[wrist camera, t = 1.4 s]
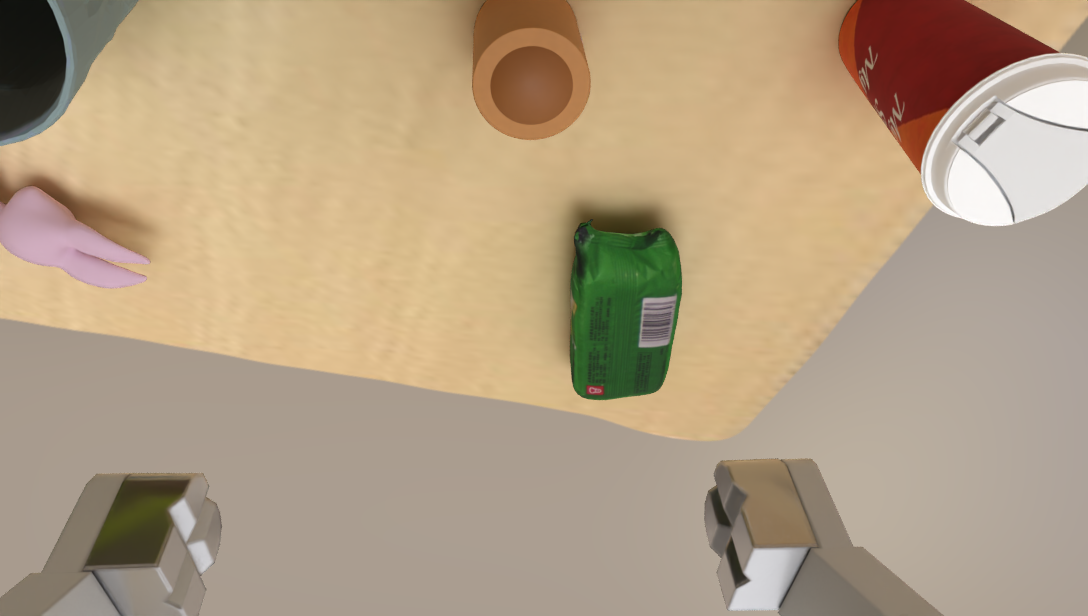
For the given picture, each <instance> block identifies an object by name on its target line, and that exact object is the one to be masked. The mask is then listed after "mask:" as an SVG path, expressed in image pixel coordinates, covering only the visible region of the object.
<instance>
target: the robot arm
mask: <svg viewBox="0 0 1088 616" xmlns="http://www.w3.org/2000/svg"><path fill="white" fill-rule="evenodd" d="M714 477H715V481H716V484H717V485H716V486H715V487H713V488H712V489H710V490H709V491H708V494H707V497H706V501H705V518H704V519H705V527H706V533H707V537H708V541H709V545H710V547H711V548H712V549H713V550H714V551H715V552H716V553H717V554H718V555H719V556H720V557H721V558H722V559H721V561H720V564H719V567H718V570H717V575H718V579H719V582H720V586H721V590H722V593H723V597H724V601H725V604H726V608H727V610H779V612H778V613H779V614H780V615H781V616H944V615H942V614H941V613H940V612H939V611H938V610H937V609H935V608H934V607H933V606H932V605H931V604H929V603H928V602H927V601H926V600H924V599H923V598H922V597H921V596H920V595H919V594H918V593H916V592H915V591H914V590H913V589H912V588H910V587H909V586H908V585H907V584H906V583H905V582H903V581H902V580H901V579H900V578H899V577H897V576H896V575H895V574H894V573H893V572H892V571H890V570H889V569H888V568H887V567H886V566H884V565H883V564H882V563H881V562H880V561H879V560H877V559H876V558H875V557H874V556H873V555H871V554H870V553H869V552H868V551H867V550H866V549H864V548H863V547H853V544H852V542H851V540H850V538H849V536H848V533H847V531H846V529H845V527H844V524H843V522H842V520H841V518H840V515H839V513H838V511H837V509H836V506H835V504H834V502H833V500H832V498H831V495H830V493H829V491H828V488H827V486H826V484H825V482H824V479H823V477H822V475H821V473H820V470H819V469H818V466H817V464H816V463H815V462H814V461H813V460H812V459H781V460H779V459H754V460H727V461H720V462H719V463H718V464H717V466H716V469H715V472H714ZM208 488H209V484H208V482H207V480H206V478H205V476H204V474H203V473H112V474H111V473H110V474H96V475H95V476H94V477H93V478H92V479H91V480H90V481H89V482H88V483H87V484H86V486H85V488H84V490H83V492H82V494H81V496H80V497H79V499H78V502H77V503H76V505H75V507H74V509H73V511H72V513H71V515H70V517H69V519H68V521H67V523H66V525H65V527H64V529H63V531H62V533H61V535H60V537H59V539H58V541H57V543H56V545H55V547H54V549H53V551H52V553H51V555H50V556H49V558H48V561H47V563H46V564H45V566H44V568H43V570H42V572H41V573H31V574H29V575H28V576H27V577H26V578H24V579H23V580H22V581H21V582H19V583H18V584H17V585H16V586H14V587H13V588H12V589H10V590H9V591H8V592H7V593H5V594H4V595H3V596H2V597H1V598H0V616H198V615H199V611H200V608H201V605H202V602H203V599H204V595H205V592H206V588H205V586H204V584H203V581H202V579H201V577H200V576H201V575H202V574H203V573H204V572H205V571H206V570H207V569H208V568H209V567H210V566H212V565H213V564H214V563H215V560H216V556H217V553H218V550H219V546H220V538H221V528H222V524H221V516H220V512H219V509H218V506H217V504H216V503H215V502H213V501H211V500H210V499H209V498H207V497H206V494H207V491H208Z"/></svg>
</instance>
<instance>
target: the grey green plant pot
mask: <svg viewBox="0 0 1088 616" xmlns="http://www.w3.org/2000/svg"><path fill="white" fill-rule="evenodd" d="M137 2H138V0H0V146H3V145H7V144H11V143H16V142H20V141H23V140H26V139H28V138H30V137H33V136H35V135H37V134H40V133H42V132H43V131H44V130H46V129H47V128H49V127H50V126H51V125H53V124H54V123H55V122H56V121H57V120H58V119H59V118H60V117H61V116H62V115H63V114H64V113H65V111H66V109H67V107H68V105H69V104H70V102H71V101H72V99H73V98H74V96H75V95H76V93H77V91H78V90H79V88H80V87H81V85H82V84H83V82H84V81H85V79H86V76H87V74H88V72H89V69H90V67H91V64H92V63H93V61H94V60H95V58H96V57H97V56H98V55H99V53H100V52H101V51H102V50H103V48H104V47H105V45H106V44H107V43H108V42H109V41H111V40H112V38H113V36H114V33H115V31H116V28H117V27H118V25H119V24H120V23H121V22H122V21H123V20H124V18H125V17H126V16H127V15H128V13H129V12H130V11H131V10H132V9H133V7H134V6H135V5H136V3H137Z"/></svg>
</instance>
